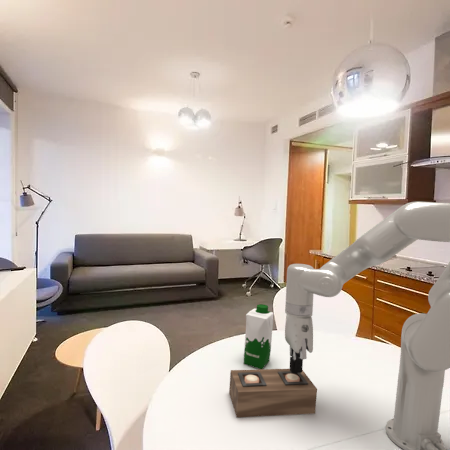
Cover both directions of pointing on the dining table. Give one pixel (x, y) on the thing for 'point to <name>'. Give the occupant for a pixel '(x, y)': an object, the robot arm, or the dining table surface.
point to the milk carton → (258, 336)
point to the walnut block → (271, 393)
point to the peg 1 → (251, 379)
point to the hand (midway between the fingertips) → (295, 371)
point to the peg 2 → (292, 378)
